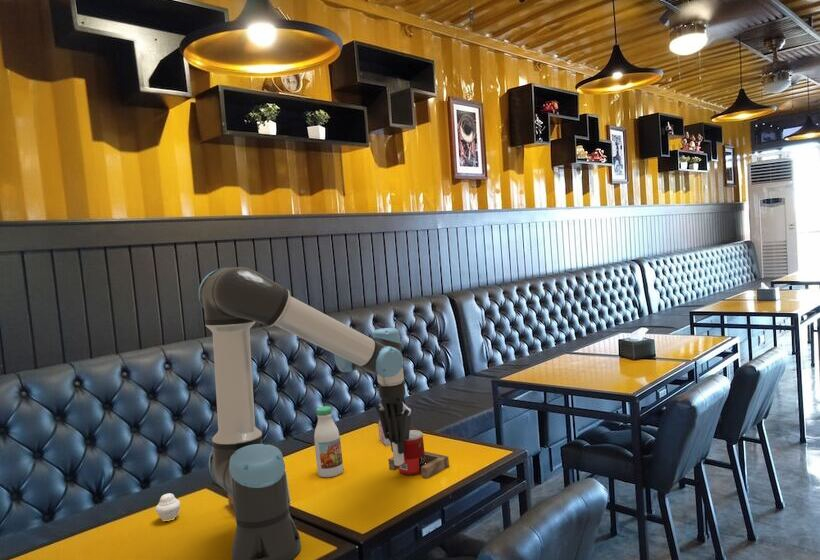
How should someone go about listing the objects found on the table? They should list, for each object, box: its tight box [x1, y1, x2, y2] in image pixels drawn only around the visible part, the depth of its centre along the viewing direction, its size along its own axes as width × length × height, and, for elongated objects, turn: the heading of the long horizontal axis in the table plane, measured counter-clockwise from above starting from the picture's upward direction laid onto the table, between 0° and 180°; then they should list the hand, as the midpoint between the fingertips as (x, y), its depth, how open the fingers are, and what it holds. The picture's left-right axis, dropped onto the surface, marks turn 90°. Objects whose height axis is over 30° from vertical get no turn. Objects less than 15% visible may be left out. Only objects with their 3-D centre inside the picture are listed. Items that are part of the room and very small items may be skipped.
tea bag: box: [377, 419, 391, 447], centre depth 200 cm, size 4×7×10 cm, turn 22°
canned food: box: [398, 429, 426, 476], centre depth 173 cm, size 8×8×11 cm
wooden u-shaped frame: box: [388, 450, 450, 479], centre depth 175 cm, size 10×15×3 cm, turn 48°
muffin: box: [155, 492, 181, 521], centre depth 156 cm, size 6×6×7 cm
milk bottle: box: [313, 405, 344, 478], centre depth 177 cm, size 8×8×20 cm
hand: (399, 463), depth 169 cm, fingers closed
